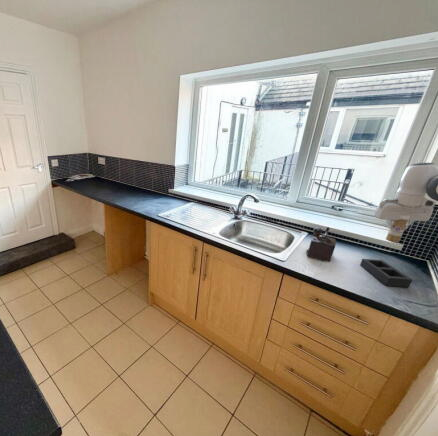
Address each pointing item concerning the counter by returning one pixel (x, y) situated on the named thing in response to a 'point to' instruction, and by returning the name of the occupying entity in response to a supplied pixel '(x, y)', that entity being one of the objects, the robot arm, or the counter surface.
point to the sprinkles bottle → (397, 228)
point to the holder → (385, 273)
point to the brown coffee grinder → (321, 245)
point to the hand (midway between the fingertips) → (396, 228)
